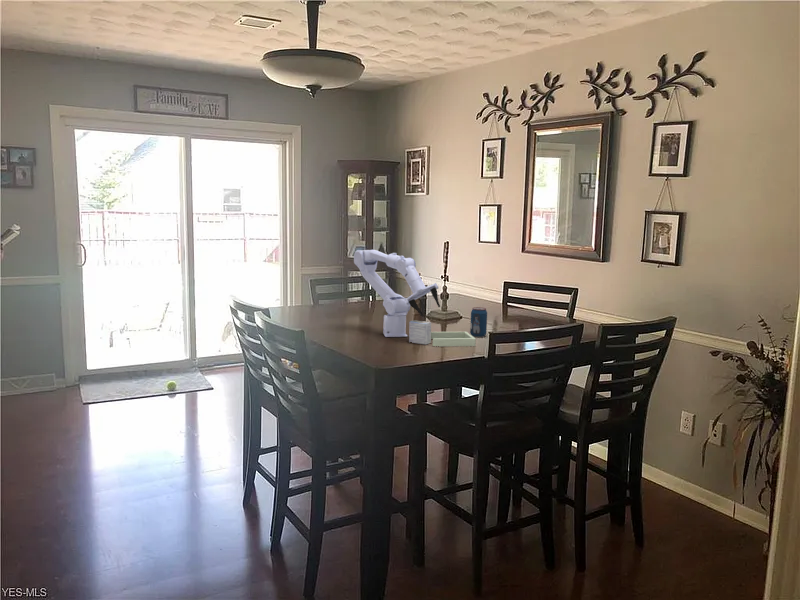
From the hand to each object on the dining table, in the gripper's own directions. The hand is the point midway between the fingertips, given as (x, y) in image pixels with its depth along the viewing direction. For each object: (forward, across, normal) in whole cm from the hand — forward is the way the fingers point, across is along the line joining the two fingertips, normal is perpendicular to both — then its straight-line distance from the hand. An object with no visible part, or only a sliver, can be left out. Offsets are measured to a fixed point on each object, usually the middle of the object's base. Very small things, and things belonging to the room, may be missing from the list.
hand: (430, 310), depth 254 cm
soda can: (+12, +14, +25) cm, 31 cm away
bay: (+13, +1, +9) cm, 15 cm away
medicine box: (+8, -10, +5) cm, 14 cm away
